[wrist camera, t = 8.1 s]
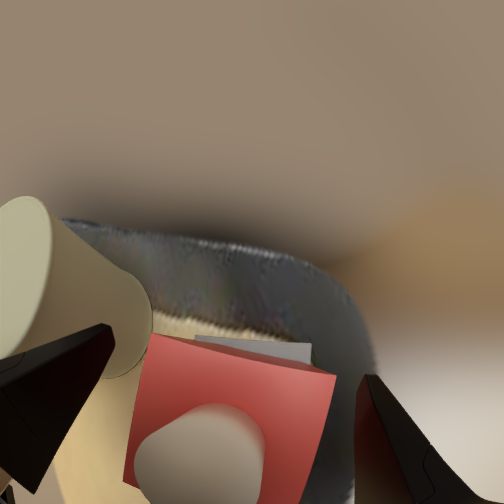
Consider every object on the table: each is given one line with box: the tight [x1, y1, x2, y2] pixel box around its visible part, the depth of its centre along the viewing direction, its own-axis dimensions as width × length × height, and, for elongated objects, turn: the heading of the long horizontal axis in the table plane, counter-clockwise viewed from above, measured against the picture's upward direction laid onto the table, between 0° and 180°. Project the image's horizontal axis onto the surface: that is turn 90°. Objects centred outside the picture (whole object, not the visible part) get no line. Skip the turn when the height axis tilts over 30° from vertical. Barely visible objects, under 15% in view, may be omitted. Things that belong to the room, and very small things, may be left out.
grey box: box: [195, 335, 311, 365], centre depth 17 cm, size 6×7×3 cm
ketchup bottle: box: [123, 333, 336, 504], centre depth 10 cm, size 5×5×12 cm
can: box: [0, 196, 153, 379], centre depth 15 cm, size 9×9×12 cm
